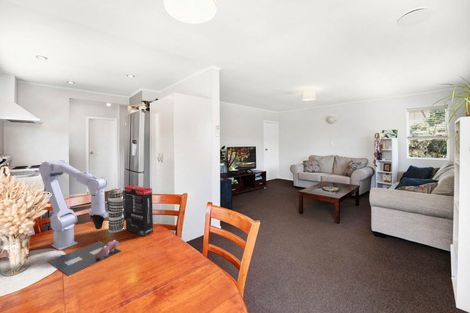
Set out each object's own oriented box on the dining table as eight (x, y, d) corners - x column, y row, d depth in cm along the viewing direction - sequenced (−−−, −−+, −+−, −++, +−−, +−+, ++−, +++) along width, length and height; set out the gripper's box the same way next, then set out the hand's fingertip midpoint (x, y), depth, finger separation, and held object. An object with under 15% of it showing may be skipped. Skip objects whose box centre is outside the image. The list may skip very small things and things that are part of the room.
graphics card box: (154, 232, 124) (153, 187, 123) (144, 236, 118) (143, 189, 116) (134, 227, 132) (133, 184, 130) (124, 231, 126) (123, 186, 124)
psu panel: (47, 261, 93) (47, 261, 93) (99, 241, 112) (99, 241, 112) (68, 275, 83) (68, 275, 83) (121, 251, 102) (121, 250, 102)
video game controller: (101, 263, 94) (107, 250, 94) (93, 257, 95) (99, 245, 94) (116, 251, 104) (122, 240, 103) (109, 247, 105) (114, 235, 104)
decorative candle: (114, 226, 133) (113, 187, 131) (128, 227, 132) (127, 188, 130) (104, 232, 124) (102, 190, 122) (118, 233, 123) (117, 191, 121)
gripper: (81, 201, 104) (82, 228, 105) (96, 206, 97) (97, 235, 98) (97, 198, 110) (97, 223, 111) (112, 203, 103) (112, 229, 104)
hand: (98, 228), depth 105 cm, fingers closed
